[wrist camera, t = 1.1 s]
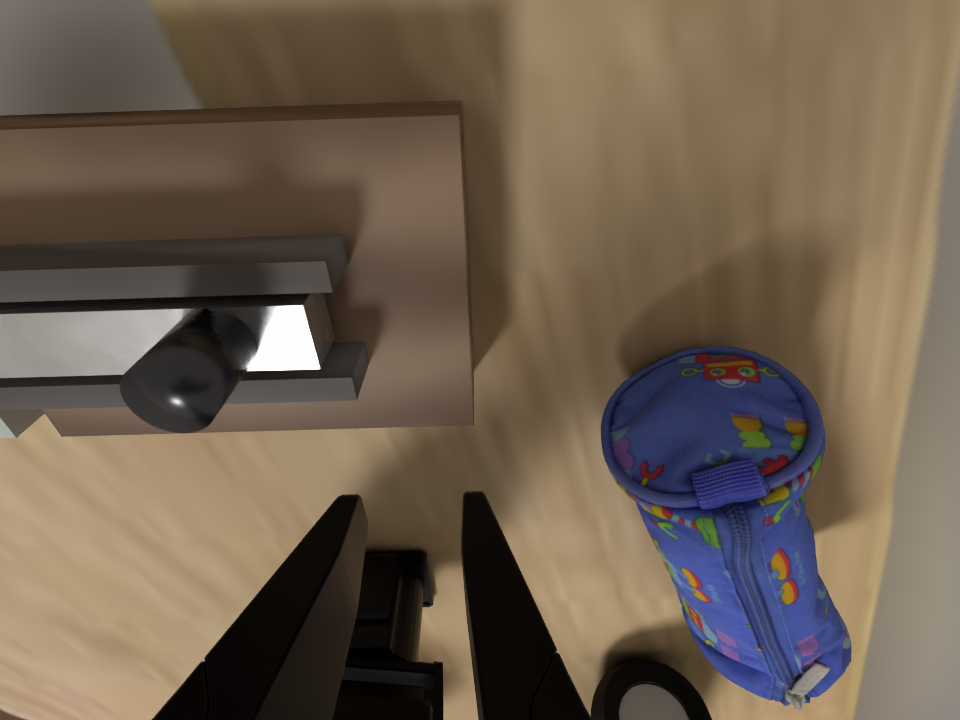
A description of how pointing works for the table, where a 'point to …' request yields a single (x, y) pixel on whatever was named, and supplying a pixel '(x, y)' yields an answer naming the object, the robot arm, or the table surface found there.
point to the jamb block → (17, 421)
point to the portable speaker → (647, 694)
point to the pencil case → (733, 512)
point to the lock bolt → (167, 346)
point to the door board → (254, 249)
